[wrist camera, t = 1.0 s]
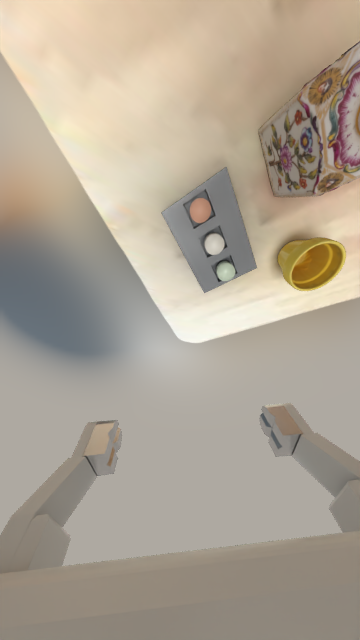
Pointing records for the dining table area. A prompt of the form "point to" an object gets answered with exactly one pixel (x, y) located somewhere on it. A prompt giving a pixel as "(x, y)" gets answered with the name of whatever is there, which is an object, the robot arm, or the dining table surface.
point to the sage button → (225, 271)
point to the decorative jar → (317, 133)
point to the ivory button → (214, 243)
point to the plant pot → (311, 262)
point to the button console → (221, 221)
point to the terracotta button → (200, 210)
